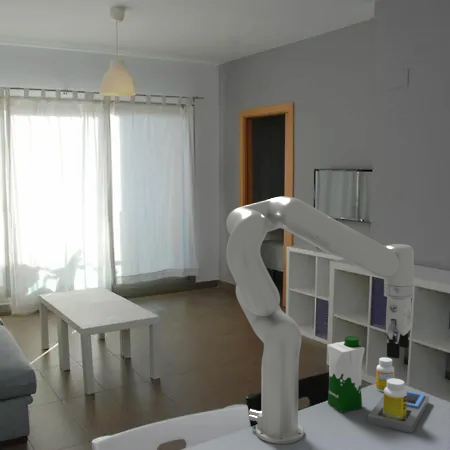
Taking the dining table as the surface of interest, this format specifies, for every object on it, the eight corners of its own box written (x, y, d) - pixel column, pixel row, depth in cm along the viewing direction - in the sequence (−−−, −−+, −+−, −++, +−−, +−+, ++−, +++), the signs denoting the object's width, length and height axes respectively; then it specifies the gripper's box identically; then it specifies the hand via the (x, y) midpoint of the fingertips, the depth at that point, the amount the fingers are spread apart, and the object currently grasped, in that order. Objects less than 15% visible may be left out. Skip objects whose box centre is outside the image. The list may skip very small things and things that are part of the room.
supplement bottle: (379, 384, 178) (380, 355, 177) (396, 388, 175) (397, 358, 174) (373, 390, 174) (374, 360, 173) (390, 394, 171) (391, 363, 170)
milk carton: (366, 408, 161) (368, 341, 159) (340, 414, 157) (342, 345, 155) (347, 397, 169) (349, 333, 166) (322, 402, 165) (323, 337, 163)
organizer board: (367, 422, 152) (367, 413, 151) (388, 394, 170) (389, 386, 170) (411, 433, 146) (411, 423, 146) (428, 402, 165) (428, 394, 164)
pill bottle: (407, 426, 150) (408, 386, 149) (383, 424, 151) (384, 384, 150) (404, 416, 156) (406, 377, 155) (381, 414, 157) (383, 376, 156)
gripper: (405, 298, 140) (404, 364, 142) (420, 285, 155) (418, 345, 157) (375, 295, 144) (375, 359, 146) (392, 283, 159) (392, 341, 161)
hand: (397, 352), depth 152 cm, fingers open, 9 cm apart
